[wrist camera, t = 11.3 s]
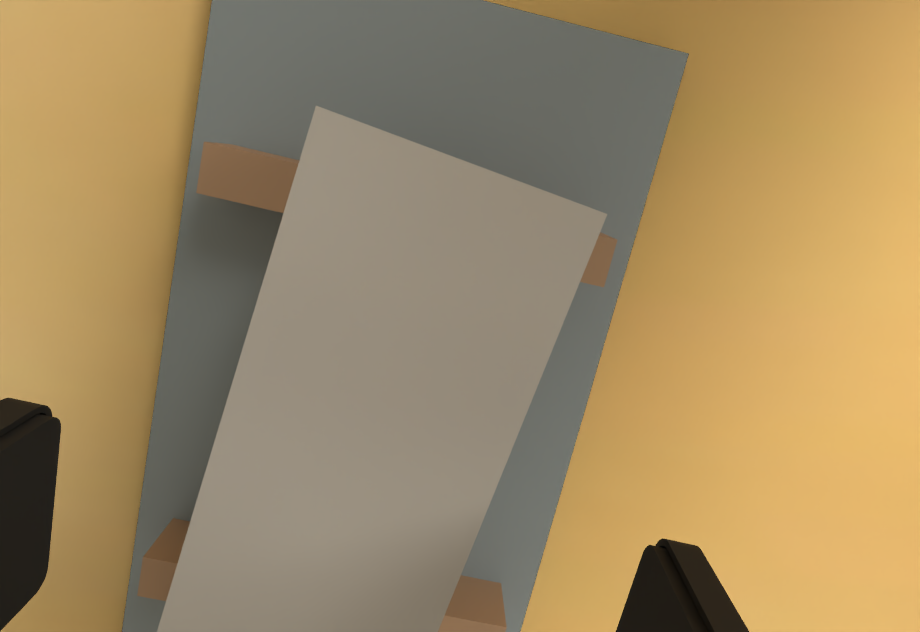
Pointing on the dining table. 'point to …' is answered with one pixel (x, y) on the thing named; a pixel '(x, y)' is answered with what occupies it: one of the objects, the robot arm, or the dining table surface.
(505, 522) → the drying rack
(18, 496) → the robot arm
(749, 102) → the dining table surface
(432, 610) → the light grey block
